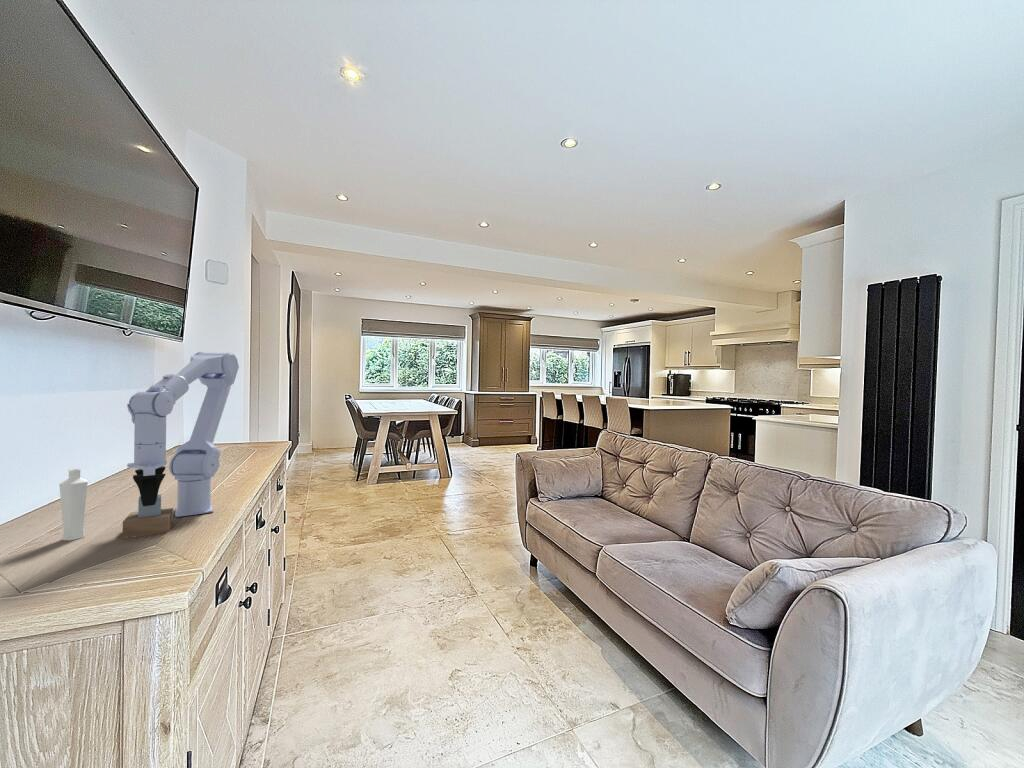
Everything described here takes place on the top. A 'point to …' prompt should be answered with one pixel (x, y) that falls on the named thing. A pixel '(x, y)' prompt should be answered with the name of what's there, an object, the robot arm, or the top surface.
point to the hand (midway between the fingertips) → (149, 501)
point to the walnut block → (147, 524)
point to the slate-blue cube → (149, 508)
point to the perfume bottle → (73, 505)
